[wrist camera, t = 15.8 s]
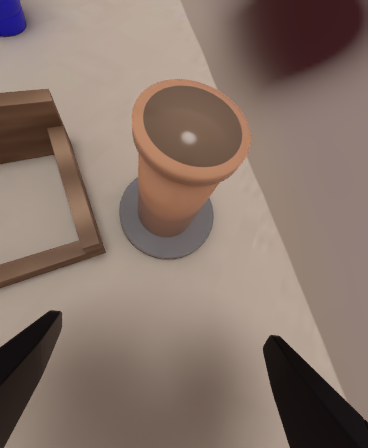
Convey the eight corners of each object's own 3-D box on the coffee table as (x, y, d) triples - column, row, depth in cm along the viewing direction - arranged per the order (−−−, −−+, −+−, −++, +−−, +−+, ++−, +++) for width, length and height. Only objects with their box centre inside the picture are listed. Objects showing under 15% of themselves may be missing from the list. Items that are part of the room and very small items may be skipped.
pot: (160, 253, 22) (189, 200, 10) (120, 203, 23) (105, 101, 11) (207, 217, 25) (273, 141, 13) (170, 173, 26) (199, 66, 14)
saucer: (195, 273, 24) (198, 272, 23) (103, 237, 23) (101, 234, 22) (219, 195, 28) (223, 190, 27) (142, 162, 27) (143, 156, 26)
